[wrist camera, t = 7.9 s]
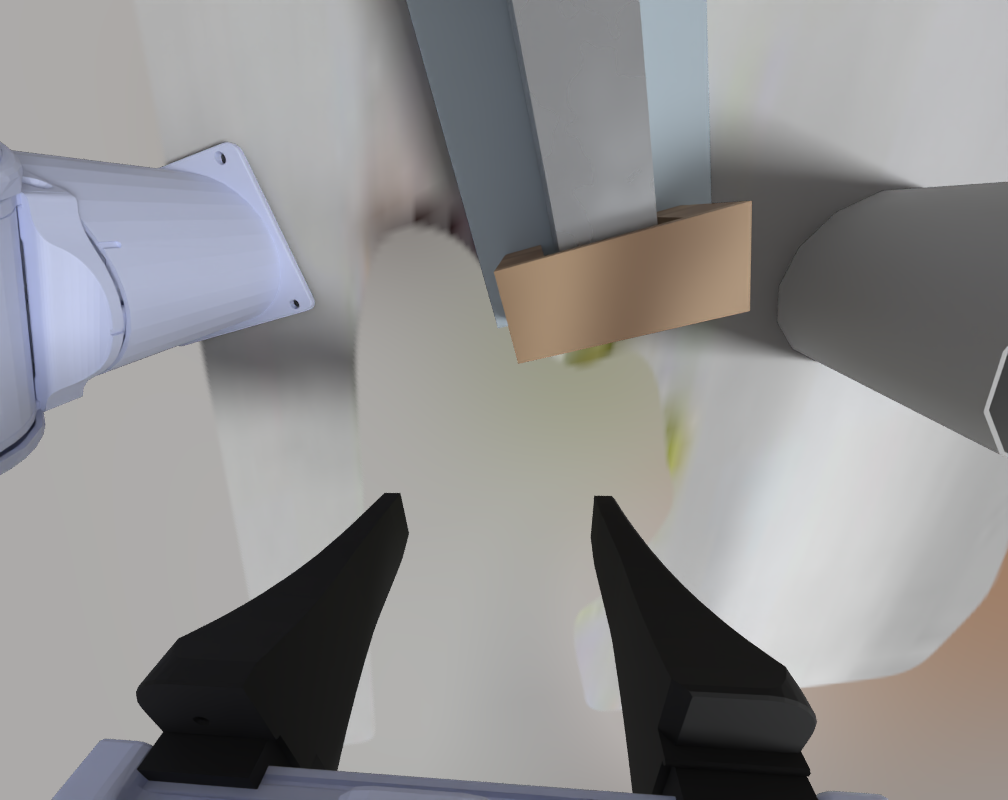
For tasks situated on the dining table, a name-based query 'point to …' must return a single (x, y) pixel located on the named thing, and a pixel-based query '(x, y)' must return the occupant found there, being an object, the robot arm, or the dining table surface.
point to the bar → (587, 115)
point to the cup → (912, 302)
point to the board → (506, 127)
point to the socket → (629, 281)
